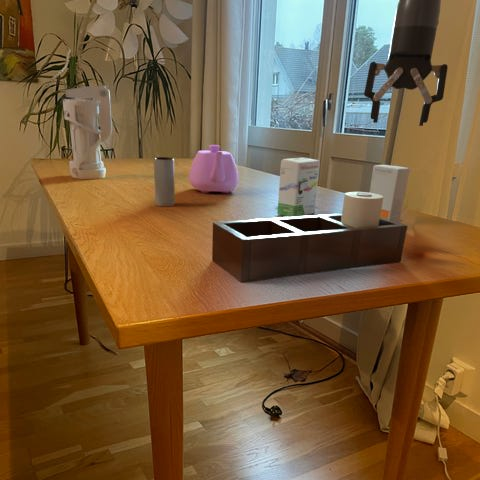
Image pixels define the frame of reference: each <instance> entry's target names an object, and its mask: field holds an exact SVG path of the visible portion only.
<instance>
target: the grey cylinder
mask: <svg viewBox="0 0 480 480" xmlns="http://www.w3.org/2000/svg"><path fill="white" fill-rule="evenodd" d="M153 180H154V183H153V184H154V203H155V206H158V207H173V206H175V205H176V192H175V191H176V190H175V186H176V185H175V158H174V157H167V156H158V157H157V156H156V157H153Z"/></svg>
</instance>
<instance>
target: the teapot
mask: <svg viewBox="0 0 480 480" xmlns="http://www.w3.org/2000/svg"><path fill="white" fill-rule="evenodd" d="M208 147H209V150H198V151H197V152H196V154H195V157H194V158H193V161H192V163H191V166H190V169H189V177H188V180H189V183H190V185H191V187H192V188H194V189H195V190H197V191H200V193H202V194H208V193H210V192H220V193H221V194H229V193H230V192H232V191H234V190H235V189H236V187H237V186H238V184H239V172H238V167H237V165H236V164H237V163H236V161H235V159H234V156H233V155H232V153H231V152H229V151H225V150H220V148H221V146H220V145H218V144H209V145H208Z"/></svg>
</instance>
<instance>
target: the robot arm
mask: <svg viewBox="0 0 480 480" xmlns="http://www.w3.org/2000/svg"><path fill="white" fill-rule="evenodd" d="M441 3H442V0H398V2H397V5H396V8H395V14H394V21H393V26H392V32H391V39H390V45H389V52H388V58H387V61H386V62H385V63H379V62H378V63H377V62H375V61H372V62H370V64H369V66H368V71H367V76H366V82H365V87H364V91H363V95H364V97H366V98H368V99H370V100H371V101H372V103H371V110H370V120H373V121H372V123H374V124H375V123H376V124H377V123H378V122H379V115H380V109H381V99H382V98H383V97H384V96H385V95H386V94H387V93H388V92H389V91H390V89H391V88H393V89H394V90H402V89H406V90H410V91H413V90H416V89H418V91H419V93H420V95H421V97H422V99H423V101H424V103H423V104H422V107H421V109H422V110H421V113H420V117H419V123H418V126H419V127H423V126H424V123H428V121H429V115H430V112H431V107H432V105H433V104H434V103H436V102H440V101H442V100H443V99H444V94H445V87H446V81H447V74H448V65H447V64H446V63H442V64H439V65H437V64H436V65H435V64H434V65H433V63H432V55H433V50H434V46H435V40H436V36H437V30H438V26H439V22H440V20H439V19H440V14H441V7H442V6H441V5H442V4H441ZM382 71H384V73H385V75H386V77H387V80H386V81H385V82H384V84H383V85H382V86H381V87H380V88H379V89H378V90H377V92H374V91H373V90H374V85H375V80H376V77H378V76H379V75H380V74H381V72H382ZM431 73H433V75H434V78H436V79H438V81H437V87H436V93H435V94H433V95H431V94H430V92H429V90H428V88H427V85H426V84H425V82H424V81H425V79H426V78H428V76H429V75H430V74H431Z"/></svg>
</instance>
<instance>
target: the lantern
mask: <svg viewBox="0 0 480 480" xmlns="http://www.w3.org/2000/svg"><path fill="white" fill-rule="evenodd" d="M107 87H108V85H89V86H88V85H87V86H80V87H75V88H68V89H64V92H65V98H63V99H62V107H63V117H64V120H66V121H69V130H70V132H69V133H70V141H71V153H72V160H70V161H68V165H69V172H70V175H71V178H73V179H81V180H99V179H104V178H105V177H106V173H107V168H106V167H105V165H104V161H102V155H101V146H100V145H102V144H103V143H106V141H107V140H108V139H109V137H110V136H111V135H112V133H113V121H112V106H111V93H110V92H111V91H110V89H108V88H107ZM96 99H97V100H96Z"/></svg>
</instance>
